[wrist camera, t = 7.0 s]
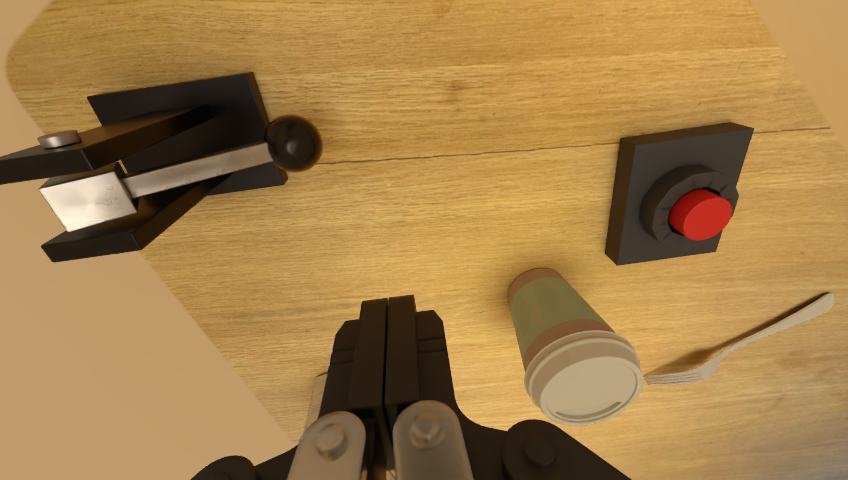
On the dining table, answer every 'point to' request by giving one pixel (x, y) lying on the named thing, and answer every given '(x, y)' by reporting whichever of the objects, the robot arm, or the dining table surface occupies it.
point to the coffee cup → (570, 352)
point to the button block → (670, 188)
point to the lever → (176, 174)
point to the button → (700, 214)
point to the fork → (713, 364)
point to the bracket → (151, 155)
